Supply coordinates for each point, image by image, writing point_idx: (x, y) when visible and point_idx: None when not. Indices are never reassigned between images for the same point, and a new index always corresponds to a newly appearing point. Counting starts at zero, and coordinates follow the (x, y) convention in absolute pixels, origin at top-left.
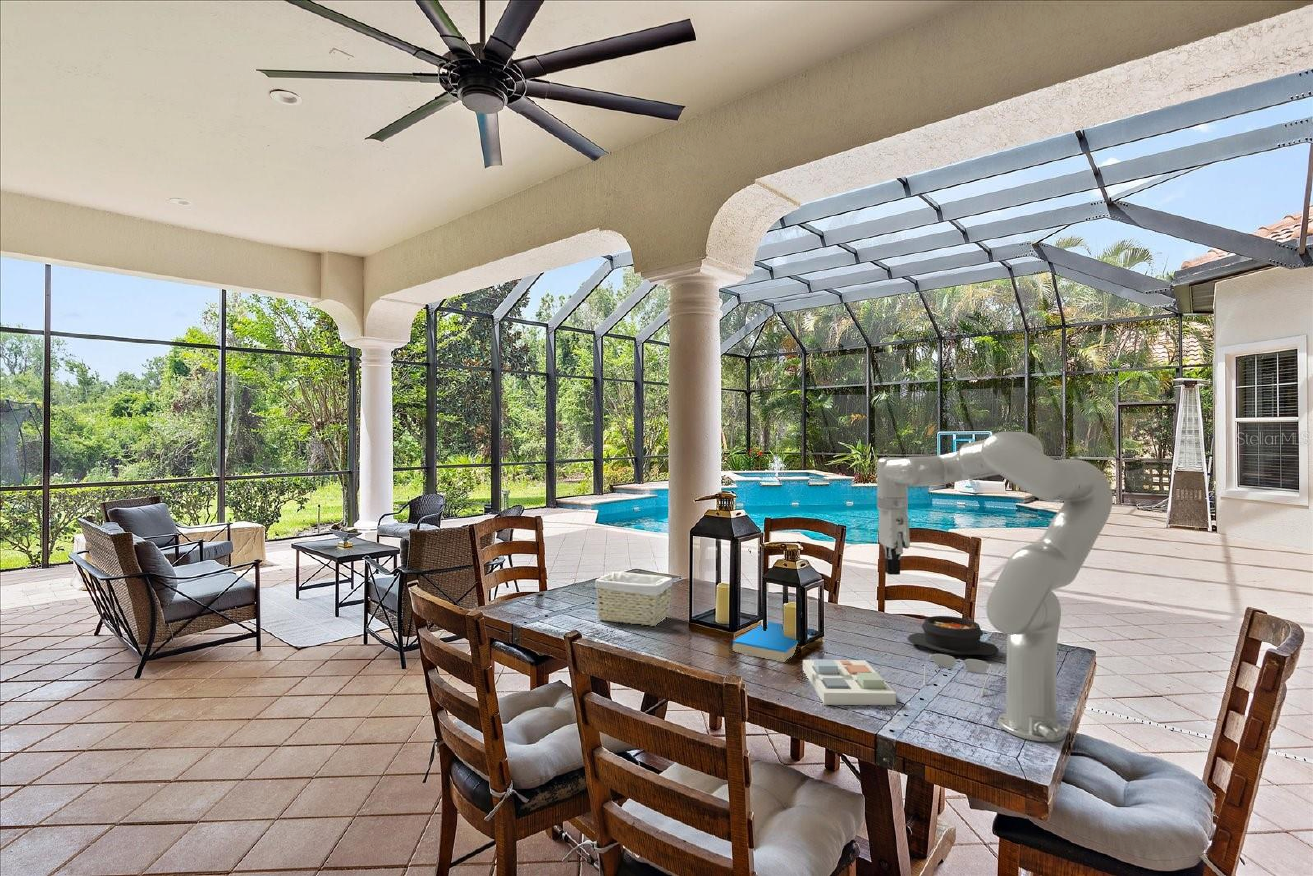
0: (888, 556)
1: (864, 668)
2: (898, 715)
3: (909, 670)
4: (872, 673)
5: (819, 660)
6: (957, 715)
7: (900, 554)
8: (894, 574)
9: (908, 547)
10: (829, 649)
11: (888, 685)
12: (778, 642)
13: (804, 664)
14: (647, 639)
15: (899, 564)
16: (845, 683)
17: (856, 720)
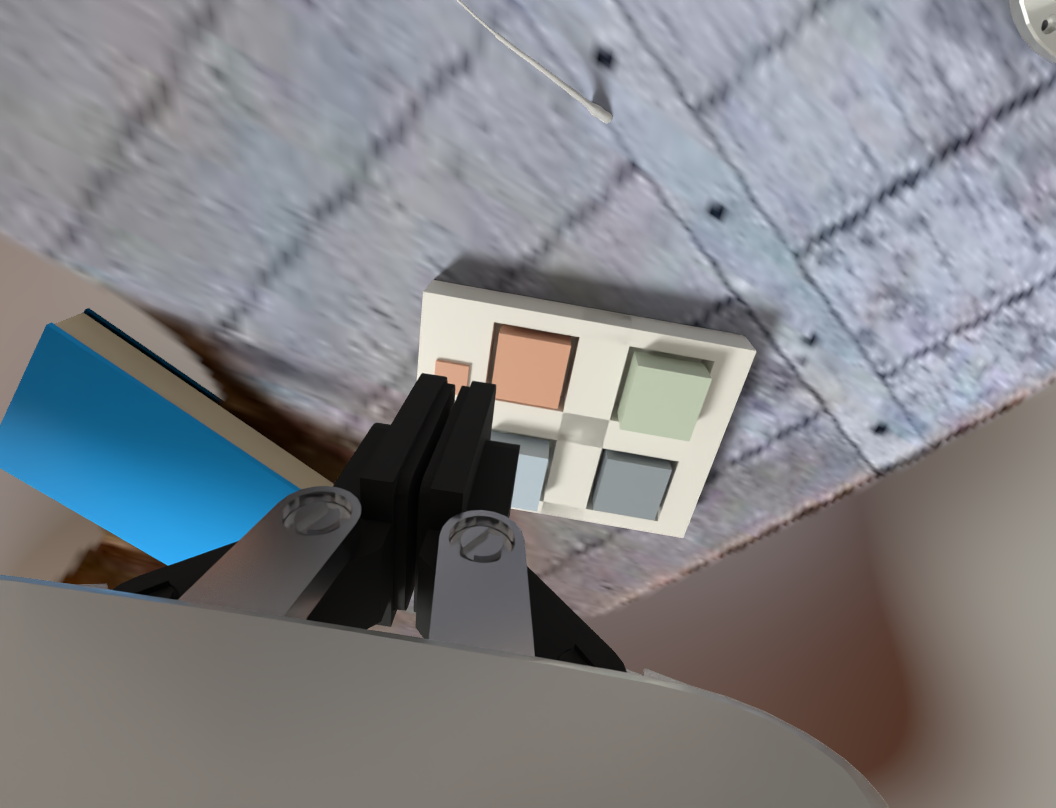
0: (364, 621)
1: (533, 352)
2: (805, 362)
3: (431, 79)
4: (640, 385)
5: None
6: (888, 165)
7: (526, 594)
8: (490, 436)
9: (858, 780)
10: (188, 299)
11: (686, 339)
12: (245, 505)
13: None
14: None
15: (475, 450)
16: (652, 471)
17: (788, 481)
